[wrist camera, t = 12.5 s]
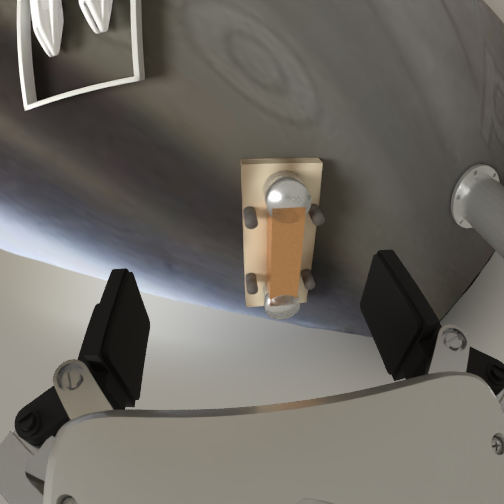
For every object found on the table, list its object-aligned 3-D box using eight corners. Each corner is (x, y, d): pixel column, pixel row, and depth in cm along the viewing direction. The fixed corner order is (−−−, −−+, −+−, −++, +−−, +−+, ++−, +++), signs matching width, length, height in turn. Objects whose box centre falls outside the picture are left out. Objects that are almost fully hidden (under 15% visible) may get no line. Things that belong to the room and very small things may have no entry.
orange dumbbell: (304, 169, 37) (313, 182, 33) (293, 299, 50) (298, 317, 47) (262, 170, 36) (267, 183, 33) (262, 302, 49) (265, 320, 46)
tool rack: (318, 157, 38) (330, 171, 34) (303, 293, 52) (310, 315, 48) (240, 159, 37) (243, 173, 33) (245, 298, 51) (247, 320, 47)
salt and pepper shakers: (36, -8, 19) (37, 63, 26) (19, -11, 16) (20, 67, 22) (119, -36, 20) (118, 40, 27) (108, -44, 17) (106, 39, 23)
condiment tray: (141, -45, 20) (136, -51, 18) (145, 79, 30) (139, 80, 28) (27, -5, 19) (17, -7, 17) (34, 106, 29) (24, 110, 27)
